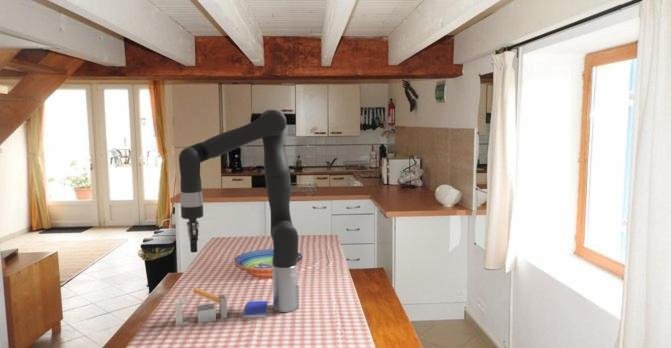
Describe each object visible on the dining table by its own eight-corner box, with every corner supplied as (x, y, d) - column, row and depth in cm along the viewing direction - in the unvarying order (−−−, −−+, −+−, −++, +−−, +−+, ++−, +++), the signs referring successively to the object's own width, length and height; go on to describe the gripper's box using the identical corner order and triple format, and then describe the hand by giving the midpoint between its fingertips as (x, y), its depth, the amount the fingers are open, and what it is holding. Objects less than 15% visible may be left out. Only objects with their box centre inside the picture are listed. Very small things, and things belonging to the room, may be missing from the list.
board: (225, 309, 179) (224, 289, 178) (231, 326, 165) (231, 304, 164) (173, 317, 172) (172, 296, 171) (175, 335, 158) (174, 312, 157)
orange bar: (223, 304, 171) (225, 299, 172) (224, 306, 169) (226, 302, 170) (192, 291, 167) (195, 286, 167) (193, 293, 165) (195, 288, 165)
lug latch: (188, 318, 168) (187, 297, 167) (189, 323, 165) (188, 301, 164) (175, 320, 167) (174, 299, 166) (176, 325, 163) (175, 303, 162)
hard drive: (265, 314, 172) (268, 300, 184) (243, 314, 172) (247, 301, 184) (265, 318, 172) (268, 304, 185) (243, 319, 172) (247, 305, 184)
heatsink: (213, 313, 173) (213, 302, 172) (216, 320, 167) (215, 309, 166) (197, 316, 170) (196, 305, 170) (198, 323, 165) (198, 312, 164)
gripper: (204, 206, 161) (206, 255, 163) (201, 200, 173) (202, 245, 176) (181, 208, 158) (184, 258, 161) (179, 201, 171) (181, 247, 173)
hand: (193, 251), depth 168 cm, fingers closed
